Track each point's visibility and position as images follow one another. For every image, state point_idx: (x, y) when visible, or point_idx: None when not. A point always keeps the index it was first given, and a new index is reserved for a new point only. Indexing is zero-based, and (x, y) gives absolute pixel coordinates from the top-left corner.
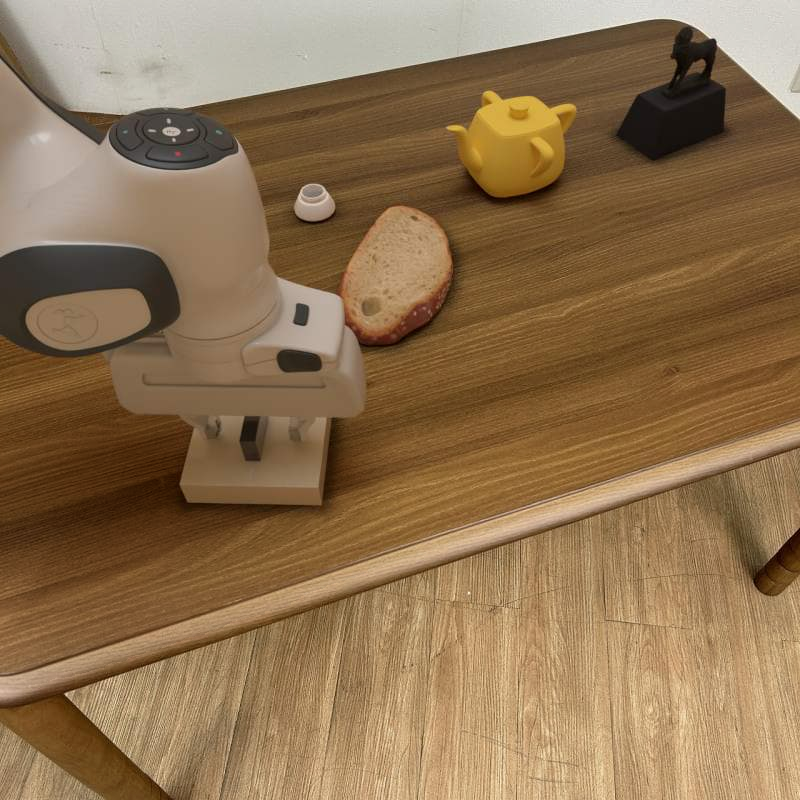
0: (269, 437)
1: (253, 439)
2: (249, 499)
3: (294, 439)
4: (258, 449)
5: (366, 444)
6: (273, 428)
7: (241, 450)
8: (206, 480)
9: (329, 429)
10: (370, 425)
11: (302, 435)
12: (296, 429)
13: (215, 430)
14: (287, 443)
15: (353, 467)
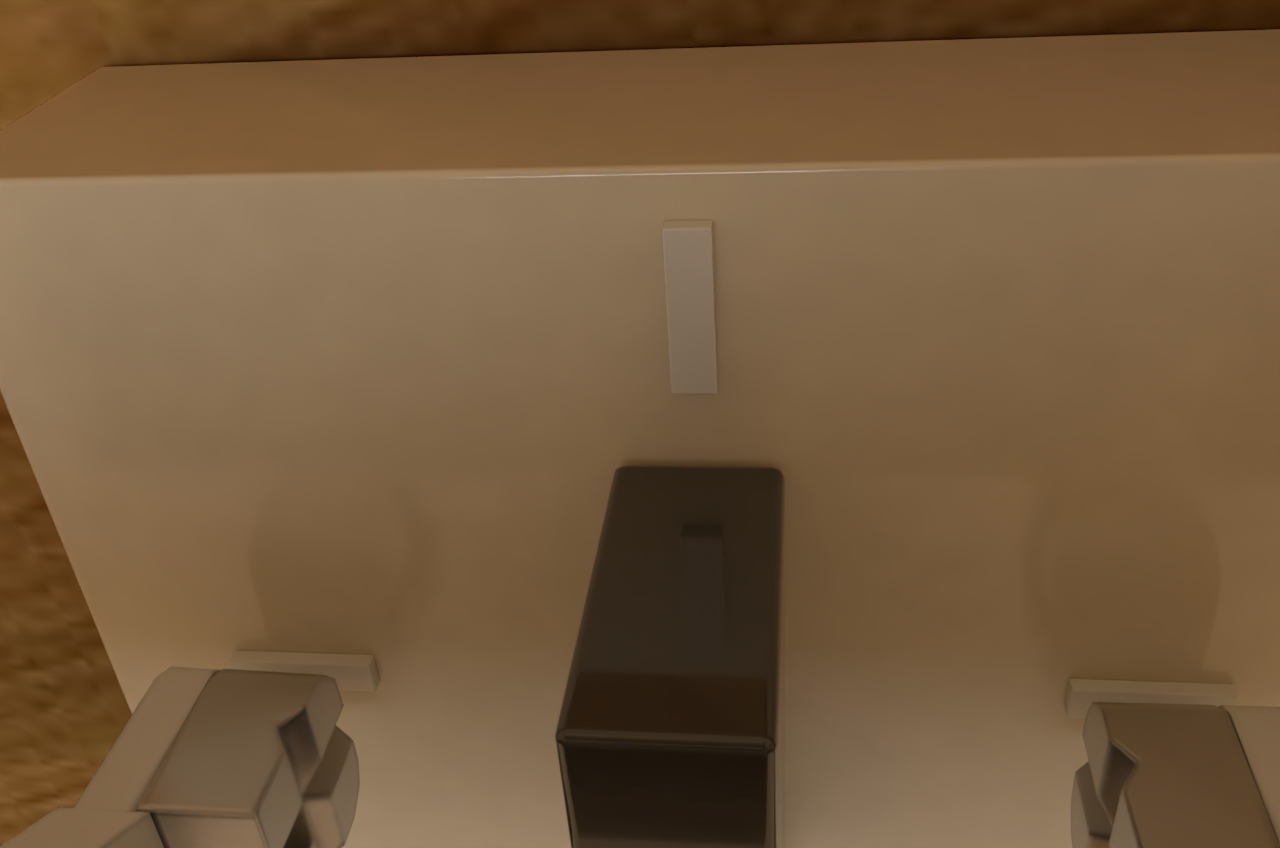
0: None
1: (580, 763)
2: (740, 70)
3: (268, 692)
4: (589, 604)
5: (4, 583)
6: None
7: (847, 572)
8: (1226, 222)
9: None
10: (42, 704)
11: (141, 746)
12: (173, 825)
13: (1133, 839)
14: (414, 632)
15: (8, 417)
